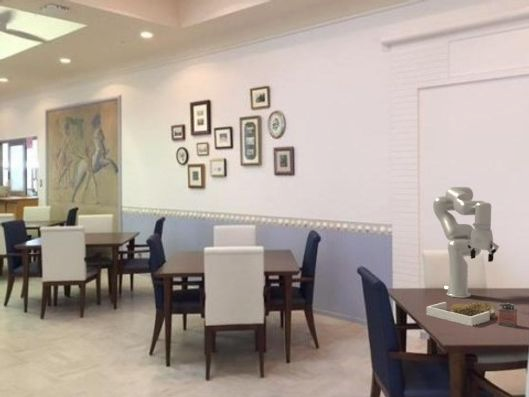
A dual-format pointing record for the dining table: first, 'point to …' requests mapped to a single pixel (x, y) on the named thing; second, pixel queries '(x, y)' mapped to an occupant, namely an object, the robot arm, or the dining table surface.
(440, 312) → the box
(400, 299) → the dining table surface
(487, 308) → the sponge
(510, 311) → the lighter
